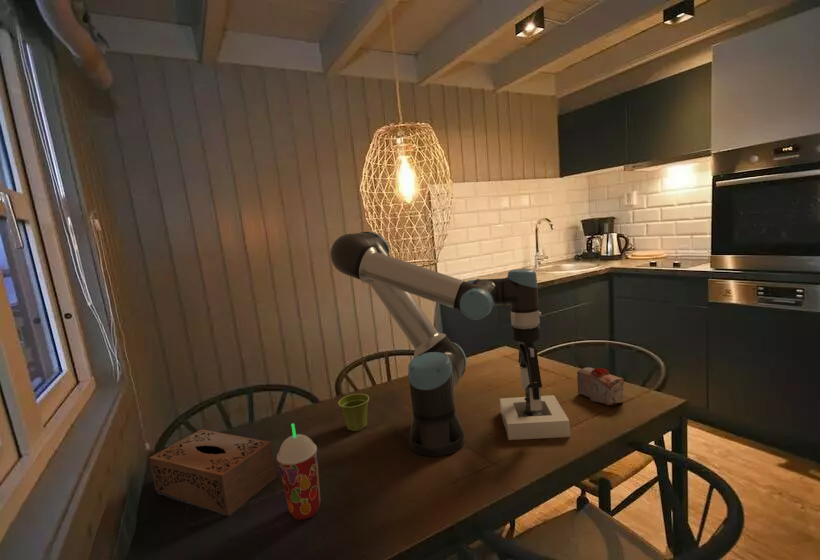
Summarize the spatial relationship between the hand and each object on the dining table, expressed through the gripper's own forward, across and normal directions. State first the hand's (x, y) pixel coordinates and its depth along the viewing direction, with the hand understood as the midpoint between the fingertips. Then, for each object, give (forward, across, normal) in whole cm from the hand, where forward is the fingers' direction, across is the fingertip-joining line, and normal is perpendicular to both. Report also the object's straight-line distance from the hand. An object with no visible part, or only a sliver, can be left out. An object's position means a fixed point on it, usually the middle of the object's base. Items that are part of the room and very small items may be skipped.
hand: (531, 398), depth 114 cm
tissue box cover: (+8, -23, +82) cm, 85 cm away
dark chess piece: (+8, 0, 0) cm, 8 cm away
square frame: (+7, 0, 0) cm, 7 cm away
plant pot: (+8, +4, +52) cm, 53 cm away
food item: (+8, +13, -23) cm, 28 cm away
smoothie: (+8, -33, +55) cm, 65 cm away
